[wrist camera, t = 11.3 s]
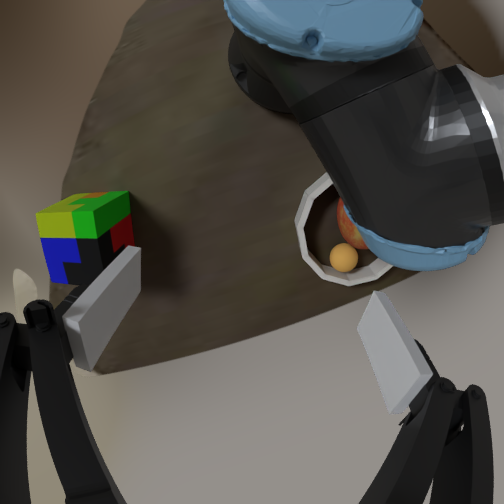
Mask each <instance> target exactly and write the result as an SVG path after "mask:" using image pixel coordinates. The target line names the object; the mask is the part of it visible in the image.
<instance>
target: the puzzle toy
mask: <svg viewBox="0 0 504 504" xmlns="http://www.w3.org/2000/svg"><path fill="white" fill-rule="evenodd" d="M36 219H37V224H38V229H39V234H40V239H41V243H42V247H43V252H44V256H45V259H46V263H47V267H48V270H49V274H50V277H51V281H52V282H55V283H63V284H72V285H82V284H86V285H91V284H92V283H93V281H94V280H95V279H96V278H97V277H98V276H99V275H100V274H101V273H102V272H103V271H104V270H105V269H106V268H107V267H108V266H109V265H110V264H111V263H112V262H113V261H114V260H115V258H116V257H117V256H118V255H119V254H120V253H121V252H122V251H123V250H124V249H125V248H126V247H127V246H128V245H129V246H134V247H135V243H134V236H133V228H132V220H131V210H130V200H129V191H117V192H99V193H84V194H74V195H72V196H70V197H68V198H66V199H64V200H62V201H60V202H58V203H56V204H53V205H51V206H49V207H47V208H45V209H44V210H41V211H40V212H38V213H36Z"/></svg>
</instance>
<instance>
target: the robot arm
mask: <svg viewBox="0 0 504 504" xmlns="http://www.w3.org/2000/svg"><path fill="white" fill-rule="evenodd" d="M224 3H225V4H224V8H225V10H226V11H227V13H228V17H229V18H230V20H231V21H232V24H233V28H234V33H233V35H232V38H231V40H230V44H229V50H228V61H229V66H230V70H231V73H232V75H233V77H234V79H235V81H236V83H237V84H238V86H239V87H240V89H241V90H242V91H243V92H244V93H245V94H246V95H247V96H248V97H249V98H250V99H252V100H253V101H254V102H256V103H257V104H259V105H261V106H263V107H265V108H267V109H270V110H273V111H277V112H282V113H291V114H294V116H295V117H296V119H297V121H298V122H299V125H300V127H301V128H302V130H303V132H304V133H305V135H306V137H307V138H308V140H309V142H310V143H311V145H312V147H313V148H314V150H315V152H316V154H317V155H318V157H319V159H320V161H321V162H322V164H323V166H324V168H325V169H326V171H327V173H328V175H329V177H330V179H331V180H332V182H333V184H334V186H335V188H336V190H337V192H338V194H339V195H340V197H341V199H342V201H343V203H344V210H345V212H346V214H347V216H348V218H349V219H350V221H351V222H352V223H353V224H354V225H355V226H356V227H357V229H358V231H359V233H360V235H361V237H362V239H363V241H364V242H365V244H366V246H367V247H368V248H369V249H370V250H371V251H372V252H373V253H374V254H375V255H376V256H377V257H378V258H380V259H381V260H383V261H384V262H386V263H388V264H390V265H393V266H396V267H399V268H402V269H407V270H414V271H434V270H441V269H446V268H450V267H453V266H456V265H458V264H460V263H462V262H464V261H466V258H467V254H472V255H474V254H476V252H478V251H479V250H480V248H481V247H482V246H483V244H484V243H485V240H486V237H487V234H488V231H489V227H490V226H491V225H496V224H501V223H504V75H500V76H497V77H492V78H484V77H482V76H480V75H478V74H477V73H475V72H473V71H471V70H470V69H468V68H466V67H464V66H462V65H460V64H457V65H454V66H451V67H447V68H444V69H441V70H438V69H437V68H436V67H435V65H434V64H433V61H432V59H431V58H430V56H429V54H428V52H427V50H426V49H425V47H424V45H423V44H422V42H421V40H420V38H419V37H418V35H417V34H418V31H419V29H420V27H421V24H422V21H423V12H422V11H421V10H420V7H421V5H422V3H423V0H224ZM140 291H141V248H139V247H134V246H129V245H128V246H127V247H126V248H125V249H124V250H123V251H122V252H121V253H120V254H119V255H118V256H117V257H116V258H115V260H114V261H113V262H112V263H111V264H110V265H109V266H108V267H107V268H106V269H105V270H104V271H103V272H102V273H101V274H100V275H99V276H98V277H97V278H96V279H95V280H94V281H93V283H92V284H91V285H86V284H82V285H80V286H78V287H76V288H74V289H73V290H72V291H71V292H70V293H69V296H67V297H66V298H65V299H64V301H62V302H61V303H60V304H59V305H58V306H57V307H56V309H55V310H53V306H52V304H51V303H50V302H49V301H46V300H35V301H32V302H30V303H28V304H27V305H26V306H25V308H24V311H23V313H24V317H25V320H26V323H27V324H21V323H16V320H15V317H14V316H13V315H12V314H11V313H7V312H3V313H0V504H31V499H30V491H29V483H28V470H27V442H26V441H27V435H26V434H27V410H28V396H29V386H30V377H31V371H32V372H33V379H34V385H35V391H36V396H37V402H38V407H39V411H40V416H41V420H42V424H43V428H44V432H45V436H46V439H47V443H48V446H49V449H50V452H51V456H52V459H53V462H54V465H55V468H56V470H57V473H58V476H59V479H60V481H61V484H62V486H63V489H64V491H65V494H66V499H65V503H66V504H127V503H126V502H125V500H124V498H123V496H122V495H121V493H120V491H119V489H118V487H117V486H116V484H115V482H114V480H113V478H112V476H111V474H110V472H109V470H108V468H107V466H106V464H105V462H104V460H103V458H102V455H101V453H100V451H99V448H98V447H97V444H96V442H95V439H94V437H93V434H92V432H91V429H90V427H89V424H88V421H87V419H86V416H85V413H84V411H83V408H82V405H81V402H80V398H79V395H78V392H77V389H76V386H75V383H74V379H73V375H72V372H71V368H70V365H69V363H70V361H71V360H72V358H73V359H74V362H75V365H76V367H79V368H82V369H84V370H87V371H89V372H91V371H92V369H93V367H94V365H95V364H96V362H97V360H98V359H99V357H100V355H101V353H102V352H103V350H104V348H105V347H106V345H107V343H108V342H109V340H110V338H111V337H112V335H113V334H114V332H115V330H116V329H117V327H118V325H119V324H120V322H121V321H122V319H123V318H124V316H125V314H126V313H127V311H128V310H129V308H130V307H131V305H132V304H133V302H134V300H135V299H136V297H137V296H138V294H139V293H140ZM357 330H358V332H359V334H360V337H361V340H362V342H363V345H364V347H365V350H366V352H367V355H368V357H369V360H370V363H371V365H372V368H373V371H374V373H375V376H376V379H377V381H378V384H379V387H380V390H381V392H382V395H383V398H384V401H385V404H386V407H387V409H388V413H389V414H399V413H402V412H403V411H404V410H405V409H406V408H407V407H408V405H409V407H410V410H411V412H409V414H408V415H407V416H406V417H405V418H404V419H403V420H402V421H401V422H400V424H399V425H401V424H402V423H403V425H402V428H401V430H400V432H399V434H398V436H397V438H396V440H395V442H394V444H393V446H392V448H391V450H390V452H389V454H388V456H387V458H386V460H385V461H384V463H383V465H382V467H381V469H380V470H379V472H378V474H377V475H376V477H375V479H374V480H373V482H372V484H371V485H370V487H369V488H368V490H367V492H366V493H365V495H364V496H363V498H362V499H361V501H360V502H359V504H423V502H424V500H425V497H426V495H427V493H428V490H429V488H430V485H431V483H432V480H433V486H432V493H431V498H430V503H429V504H493V488H494V482H493V481H494V473H493V450H492V438H491V428H490V421H489V415H488V407H487V401H486V396H485V393H484V392H483V390H482V389H481V388H480V387H479V386H477V385H473V384H472V385H470V386H469V387H468V388H467V389H466V390H465V391H460V390H456V387H455V385H454V384H453V383H452V382H451V381H450V380H449V379H447V378H444V377H440V376H439V374H438V372H437V370H436V369H435V367H434V365H433V363H432V361H431V360H430V358H429V356H428V355H427V354H426V351H425V350H424V348H423V346H422V345H421V344H420V343H419V342H418V341H417V340H415V339H413V337H412V336H411V334H410V332H409V330H408V329H407V327H406V326H405V324H404V322H403V321H402V319H401V317H400V316H399V314H398V313H397V311H396V309H395V308H394V306H393V304H392V303H391V301H390V300H389V298H388V297H387V295H386V294H385V293H384V292H379V291H373V294H372V296H371V298H370V301H369V303H368V305H367V308H366V310H365V312H364V314H363V316H362V318H361V320H360V323H359V325H358V327H357ZM463 424H464V427H463V430H462V431H461V426H462V425H463ZM433 477H434V478H433Z"/></svg>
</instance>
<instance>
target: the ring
mask: <svg viewBox="0 0 504 504" xmlns="http://www.w3.org/2000/svg"><path fill="white" fill-rule="evenodd" d="M331 184H333V182H332V180H331V179H330V177H329V175H328V173H327V172H326V173H325V174H324V175H323V176H321V177H320V178H319V179H318V180H317V181H316V182H315V183H313V184H312V185H311V186H310V187H309V188H308V189H306V190H305V192H304V195H303V197H302V200H301V203H300V206H299V209H298V212H297V214H296V217H295V226H296V231H297V236H298V242H299V247H300V251H301V254H302V258H303V259H304V260H305V261H306V262H307V263H308V264H309V265H310V266H311V268H312V269H313V270H314V271H315V272H316V273H317V274H318V275H319V276H320V277H321V278H322V279H324V280H328V281H332V282H335V283H339V284H343V285H347V286H352V285H356V284H360V283H364V282H369V281H373V280H376V279H378V278H379V277H380V276H382V275H383V274H384V273H385V272H386V271H388V270H389V269H390V268H391V267H393V265H390V264H388V263H386V262H384V261H383V260H381V259H380V258H377V259H376V260H375V261H374V262H372V263H371V264H370V265H369V266H365V267H361V268H356V269H352V270H351V271H348V272H340V271H337V270H336V269H334V268H332V267H329V266H325V265H322V264H321V263H320V262H319V261H318V260H317V259H316V258H315V257H314V255H313V254H312V253H311V252H310V251H309V250H308V249H307V245H306V240H305V234H304V229H303V228H304V225H305V222H306V220H307V217H308V214H309V212H310V209H311V206H312V203H313V201H314V199H315V198H316V197H318V196H319V195H320V194H321V193H322V192H323V191H324V190H326V189H327V188H328V187H329V186H330V185H331Z"/></svg>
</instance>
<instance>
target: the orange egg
mask: <svg viewBox="0 0 504 504" xmlns="http://www.w3.org/2000/svg"><path fill="white" fill-rule="evenodd" d="M330 262H331V265H332V266H333V268H334V269H336V270H337V271H340V272H348V271H351V270H352V269H353V268H354V267H355V266H356V264H357V262H358V253H357V251H356V249H355V248H354V247H353V246H351V245H350V244H347V243H341V244H338V245H336V246H335V247H334V248H333V249H332V251H331V253H330Z"/></svg>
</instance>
